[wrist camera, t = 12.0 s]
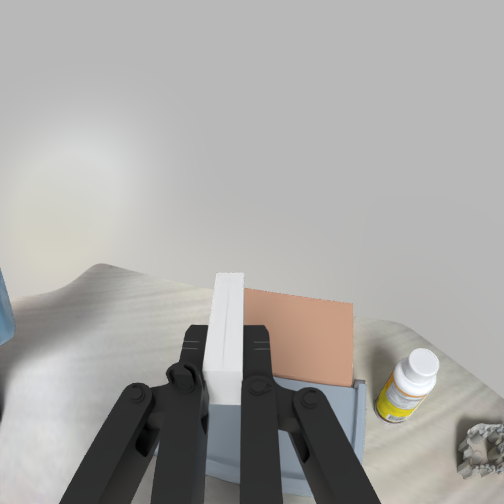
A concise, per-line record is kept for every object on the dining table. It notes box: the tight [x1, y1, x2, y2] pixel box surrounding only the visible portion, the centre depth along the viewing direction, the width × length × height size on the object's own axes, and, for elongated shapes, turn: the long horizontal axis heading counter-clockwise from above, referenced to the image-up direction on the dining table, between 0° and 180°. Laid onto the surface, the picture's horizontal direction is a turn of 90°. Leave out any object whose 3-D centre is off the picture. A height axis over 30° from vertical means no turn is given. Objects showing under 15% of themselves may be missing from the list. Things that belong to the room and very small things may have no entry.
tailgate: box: [244, 288, 353, 387], centre depth 38 cm, size 19×1×16 cm
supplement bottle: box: [375, 348, 439, 424], centre depth 26 cm, size 6×6×10 cm
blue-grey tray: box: [154, 377, 367, 497], centre depth 26 cm, size 22×15×4 cm
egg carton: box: [457, 423, 504, 479], centre depth 16 cm, size 11×8×4 cm
